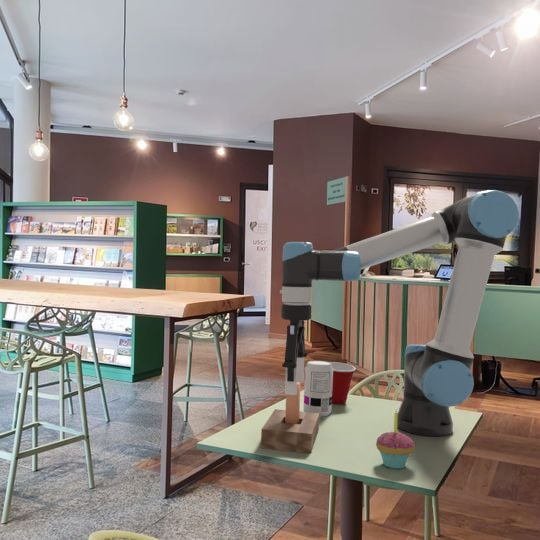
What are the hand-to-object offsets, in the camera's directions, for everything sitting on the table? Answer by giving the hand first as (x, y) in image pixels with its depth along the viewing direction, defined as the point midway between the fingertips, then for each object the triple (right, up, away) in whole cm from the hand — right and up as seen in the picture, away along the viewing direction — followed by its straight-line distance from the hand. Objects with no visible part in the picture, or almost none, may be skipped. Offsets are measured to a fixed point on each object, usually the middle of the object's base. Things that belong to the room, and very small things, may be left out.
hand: (294, 388), depth 136 cm
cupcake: (+22, -14, -15) cm, 30 cm away
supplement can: (+8, -13, +24) cm, 28 cm away
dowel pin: (-1, -13, 0) cm, 13 cm away
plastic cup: (+15, -13, +38) cm, 43 cm away
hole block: (-1, -13, 0) cm, 13 cm away
